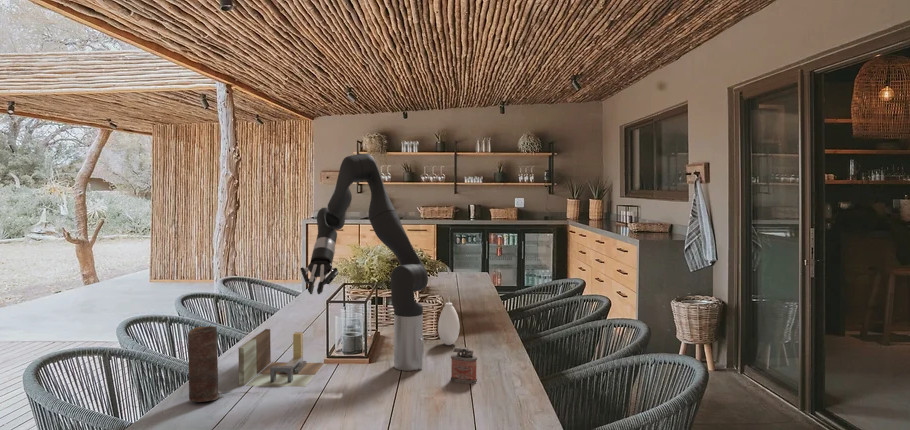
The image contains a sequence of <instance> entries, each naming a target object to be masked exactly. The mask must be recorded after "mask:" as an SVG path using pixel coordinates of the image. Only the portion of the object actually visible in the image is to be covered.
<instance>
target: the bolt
mask: <svg viewBox="0 0 910 430" xmlns="http://www.w3.org/2000/svg"><path fill="white" fill-rule="evenodd" d="M292 339H293V340H292V341H293V342H292V343H293V344H292V345H293V348H292V351H293V354H292V355H293V357H292V358H291V359H290V360H289V361H287V362H288V363H287V364H286V365H285V366H293V372H294V371H295V369H296V368H297V367H298V366H299V365H300V364H301V363H302V362H303V361H304V333H303V332H302V331H301V332H300V331H299V332H294V333H293V334H292ZM285 373H287V372H285Z"/></svg>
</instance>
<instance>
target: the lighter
mask: <svg viewBox="0 0 910 430" xmlns="http://www.w3.org/2000/svg"><path fill="white" fill-rule="evenodd" d="M452 352H453V354H451V355H450V359H451V376H450V381H451V380H452V381H451V382H454V381H456V382H455V383H460V382H462V384H471V383H474V384H476V382H477V383H478V379H477V361H478V357H477V356H476V355H474V349H471V348H470V349H469V348H468V347H466V346H465V347H463V348H462V347H453V348H452ZM455 353H456V354H455Z"/></svg>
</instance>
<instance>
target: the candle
mask: <svg viewBox="0 0 910 430" xmlns="http://www.w3.org/2000/svg"><path fill="white" fill-rule="evenodd" d="M187 346H188V347H187V349H188V351H187V352H188V353H187V355H188V356H187V357H188V360H187V362H188V399H189V401H191V402H198V403H204V402H209V401H216V400H218V399H219V395H220V394H219V370H218V369H219V366H218V361H219V360H218V330H217V326H211V325H210V326H196V327H193V329H191V330H190V331H188V333H187Z"/></svg>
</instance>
